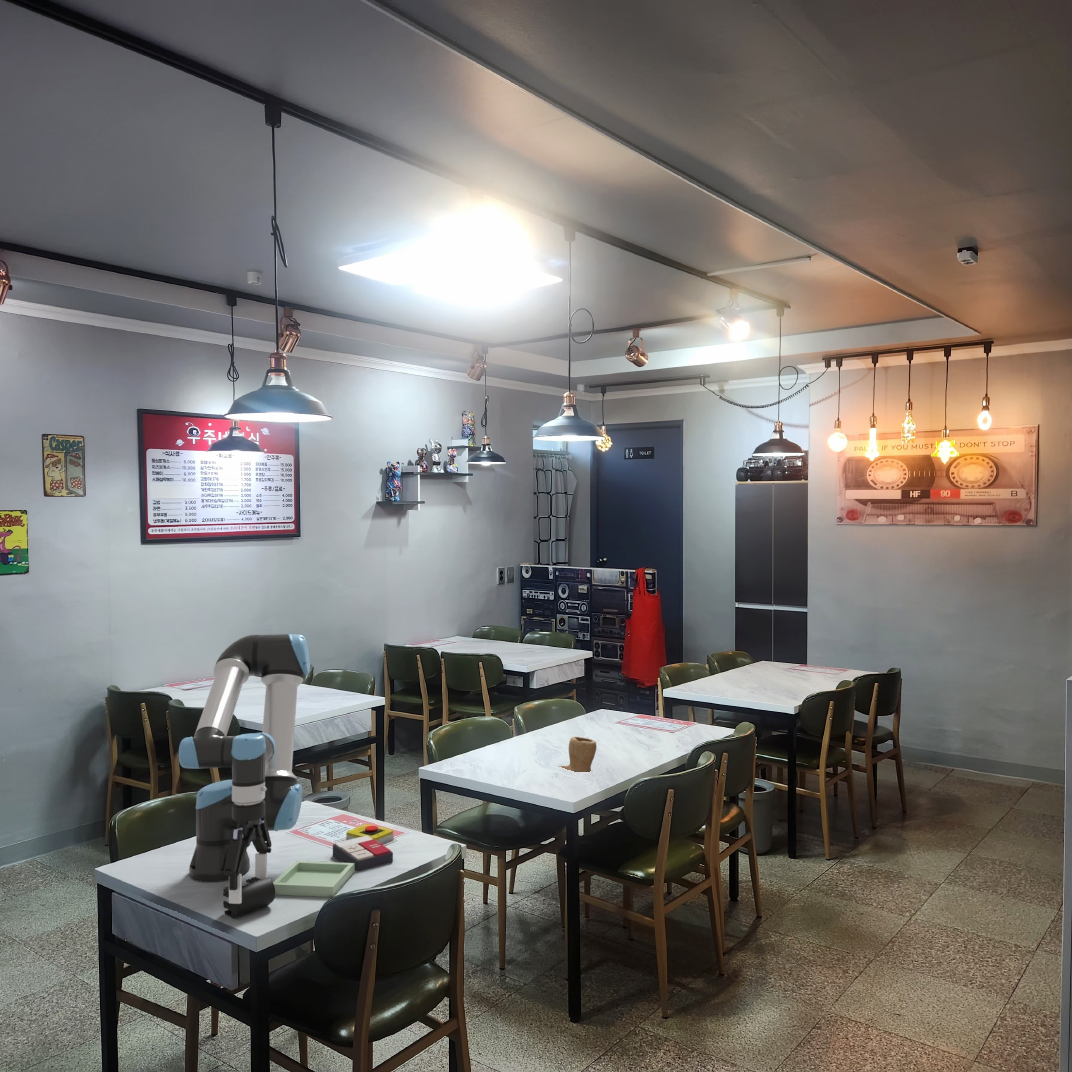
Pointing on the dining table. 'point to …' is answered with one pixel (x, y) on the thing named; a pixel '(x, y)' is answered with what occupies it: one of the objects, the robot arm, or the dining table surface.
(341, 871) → the sage tray
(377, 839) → the emergency button
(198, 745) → the robot arm
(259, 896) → the end cap
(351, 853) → the button switch box
